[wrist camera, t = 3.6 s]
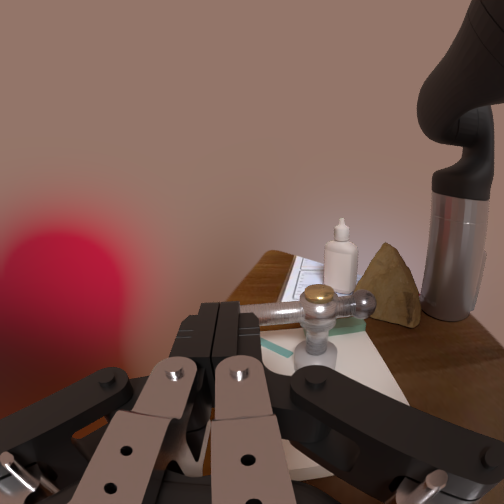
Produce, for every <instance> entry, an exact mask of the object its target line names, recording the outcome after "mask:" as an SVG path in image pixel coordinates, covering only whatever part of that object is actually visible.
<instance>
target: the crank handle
mask: <svg viewBox="0 0 504 504" xmlns="http://www.w3.org/2000/svg"><path fill="white" fill-rule="evenodd" d="M220 303H221V302H220ZM376 305H377V302H376V298H375V296H374V295H373V294H372V293H371V292H370V291H368V290H364V289H361V290H357V291H355V292H354V293H353V294H352V295H350V296H341V297H338V295H337V294H336V293H335V292H334V289H333V288H332V287H330V286H328V285H323V284H315V285H310V286H308V287H307V288H305V291H304V292H303V293H302V294H301V295H300V301H292V302H280V303H267V304H254V305H240V313H250V312H253V313H254V314H255V315H256V316H257V317H258V318H259V326H263V325H276V324H287V323H298V322H300V325H301V326H302V327H303V328H304V329H306V347H305V349H306V352H307V353H309V354H311V355H322V354H324V353H325V352H326V351H327V344H328V334H329V330H330V329H332V328H333V327H334V326H335V325H336V320H337V318H341V317H349V316H354V317H355V318H358V319H366V318H368V317H370V316H371V315H372V314H373V313H374V311H375V309H376Z"/></svg>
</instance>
